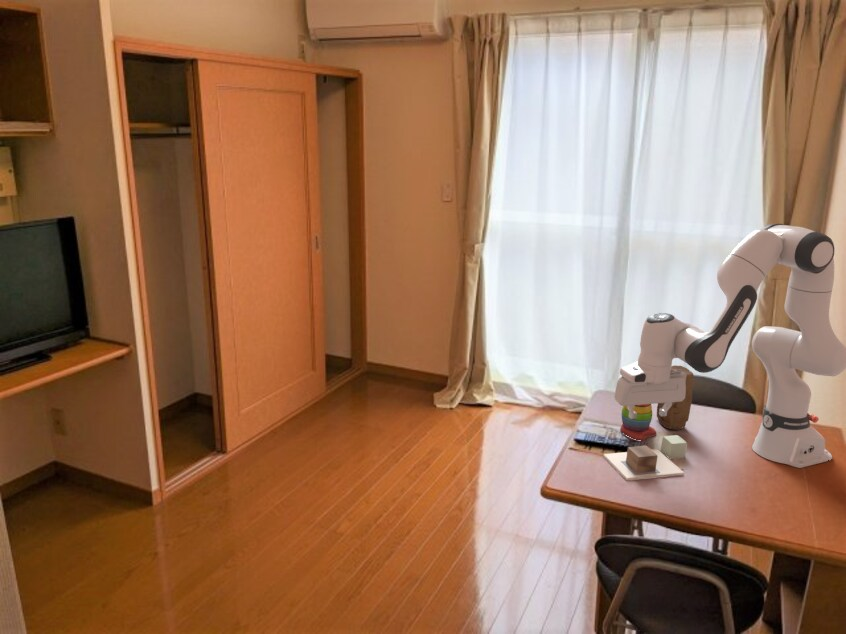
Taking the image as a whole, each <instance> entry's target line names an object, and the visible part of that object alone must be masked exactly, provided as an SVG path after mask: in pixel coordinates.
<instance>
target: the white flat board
mask: <svg viewBox="0 0 846 634" xmlns="http://www.w3.org/2000/svg"><path fill="white" fill-rule="evenodd" d="M651 450H652V451H653V452H654V453H655V454H657V455H658V456H657V463H656V470H655V471H651V472H641V473H636V472H635V471H634V470H633V469H632V468H631V467H630V466H629V465H628V464H627V463H626V457H627V451H625V452H613V453H603V455H602V456H603V459H605V460H606V461H607V463H609V464H610V466H612V468H614V469H615V471H617V472H618V473H619V475H621V477H623V478H624V480H625V481H627V482H628V481H637V480H638V481H639V480H647V479H656V478H658V479H659V478H666V477H669V478H670V477H675V476H677V477H678V476H684V475H685V472H684V471H683V470H682V469H681V468H680V467H678V466H677V465H676V464H675V463H674V462H673V461H672V460H671V459H670V458H668V457H667V456H666V455H665V454H664V453H663V452H662V451H661V450H659V449H651Z"/></svg>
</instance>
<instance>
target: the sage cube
mask: <svg viewBox="0 0 846 634" xmlns="http://www.w3.org/2000/svg"><path fill="white" fill-rule="evenodd" d="M661 439H662V440H661V445H660V447H661V448H660V452H661V453H662V454H663V455H665V454H666V455H667V456H668V457H669V458H668V457H667V456H666V455H665V456H666V457H667V458H668V459H670V458H672V459H680V458H681V459H683V458H685V457H686V453H687V452H686V451H687V445H688V441H686V440H684V439H683V438H682V437H681V436H680V435H677V434H673V435H664V436H662V438H661Z"/></svg>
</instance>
